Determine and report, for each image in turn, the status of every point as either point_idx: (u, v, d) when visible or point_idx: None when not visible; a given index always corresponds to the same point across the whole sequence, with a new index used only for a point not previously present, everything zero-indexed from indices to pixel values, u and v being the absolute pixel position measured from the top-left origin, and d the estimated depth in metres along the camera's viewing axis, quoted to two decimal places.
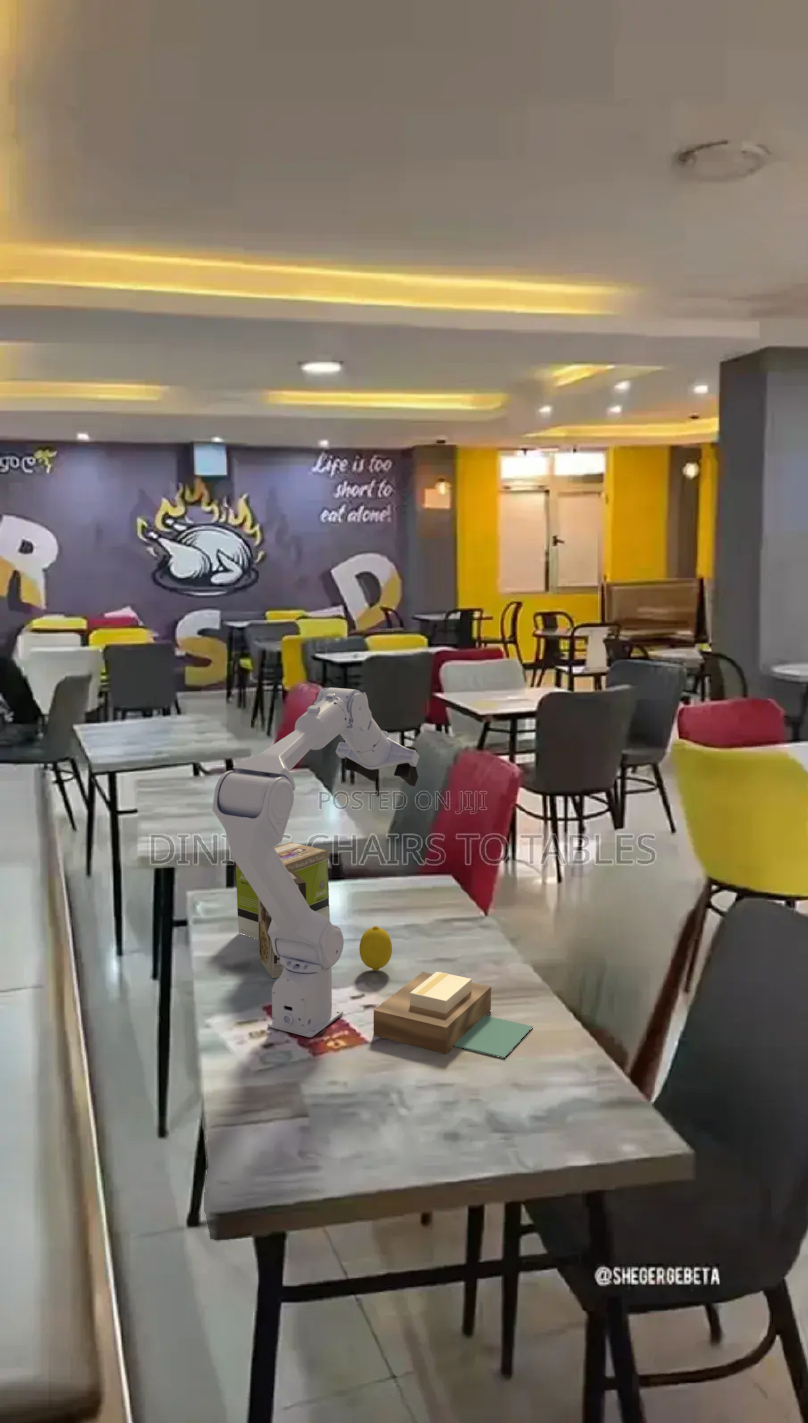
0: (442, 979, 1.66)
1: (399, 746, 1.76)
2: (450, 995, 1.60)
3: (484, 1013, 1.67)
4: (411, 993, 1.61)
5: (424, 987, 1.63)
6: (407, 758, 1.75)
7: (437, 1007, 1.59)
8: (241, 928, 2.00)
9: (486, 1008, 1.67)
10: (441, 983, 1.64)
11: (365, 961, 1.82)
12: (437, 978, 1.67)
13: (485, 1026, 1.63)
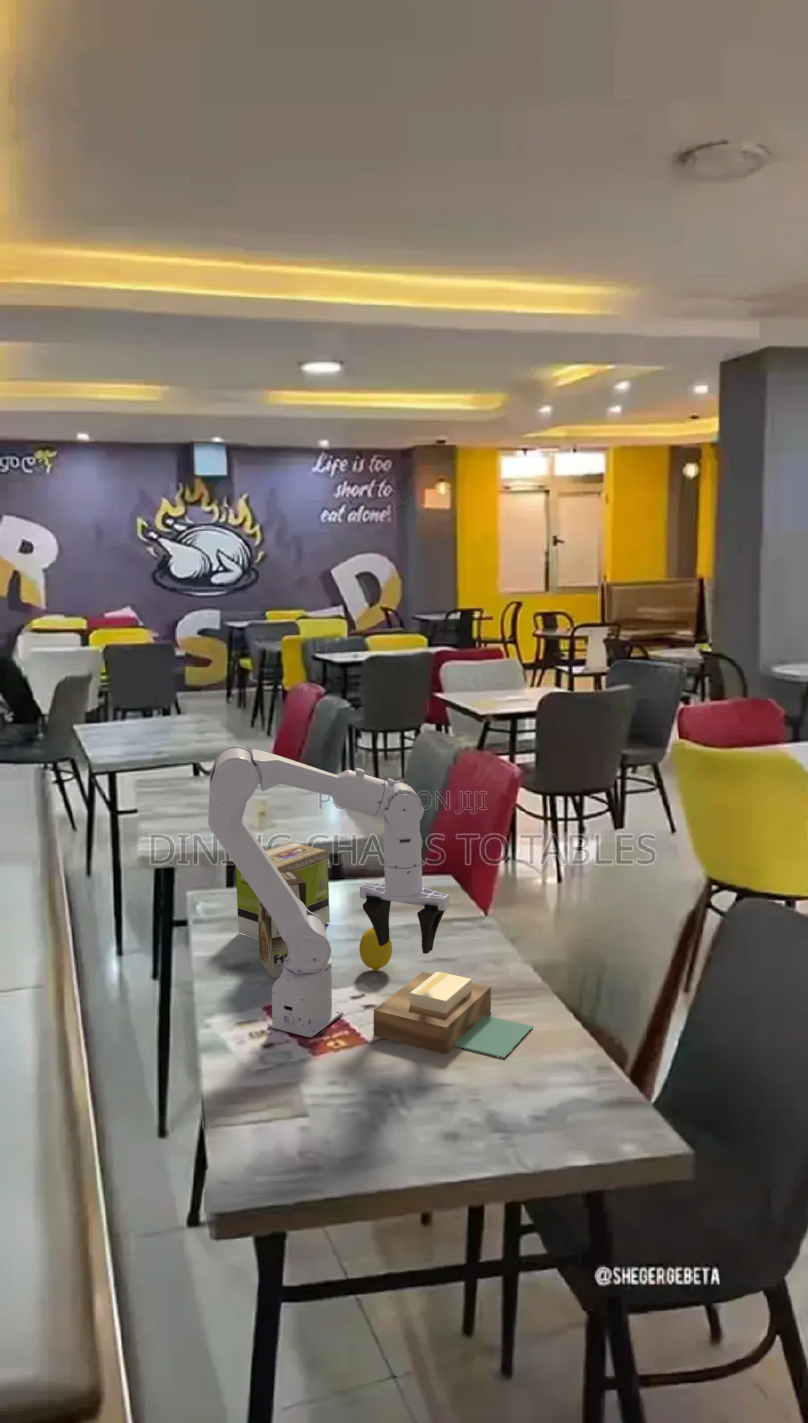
0: (442, 979, 1.66)
1: (431, 892, 1.64)
2: (450, 995, 1.60)
3: (484, 1013, 1.67)
4: (411, 993, 1.61)
5: (424, 987, 1.63)
6: None
7: (437, 1007, 1.59)
8: (241, 928, 2.00)
9: (486, 1008, 1.67)
10: (441, 983, 1.64)
11: (365, 961, 1.82)
12: (437, 978, 1.67)
13: (485, 1026, 1.63)
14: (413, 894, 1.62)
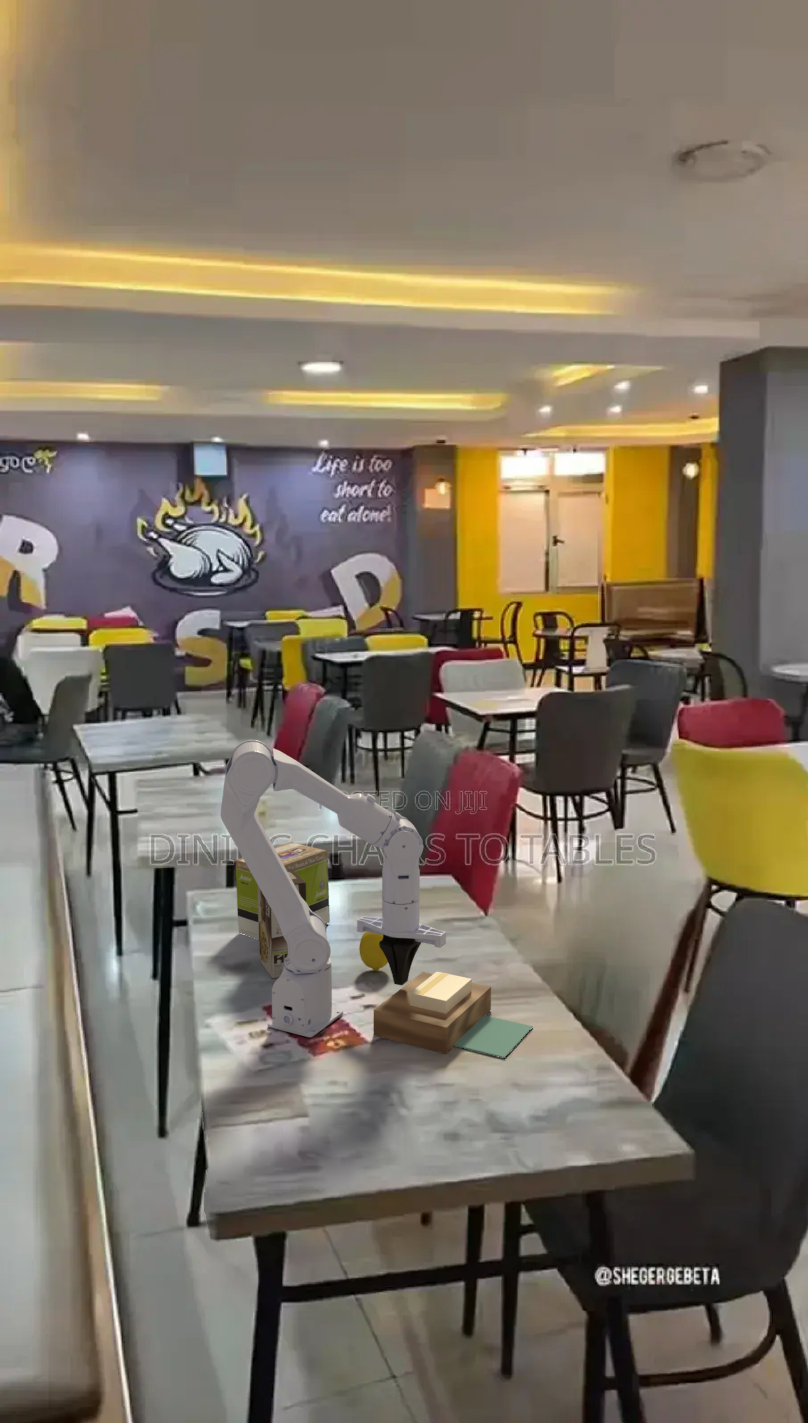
0: (442, 979, 1.66)
1: (428, 928, 1.65)
2: (450, 995, 1.60)
3: (484, 1013, 1.67)
4: (411, 993, 1.61)
5: (424, 987, 1.63)
6: None
7: (437, 1007, 1.59)
8: (241, 928, 2.00)
9: (486, 1008, 1.67)
10: (441, 983, 1.64)
11: (365, 961, 1.82)
12: (437, 978, 1.67)
13: (485, 1026, 1.63)
14: (410, 930, 1.63)
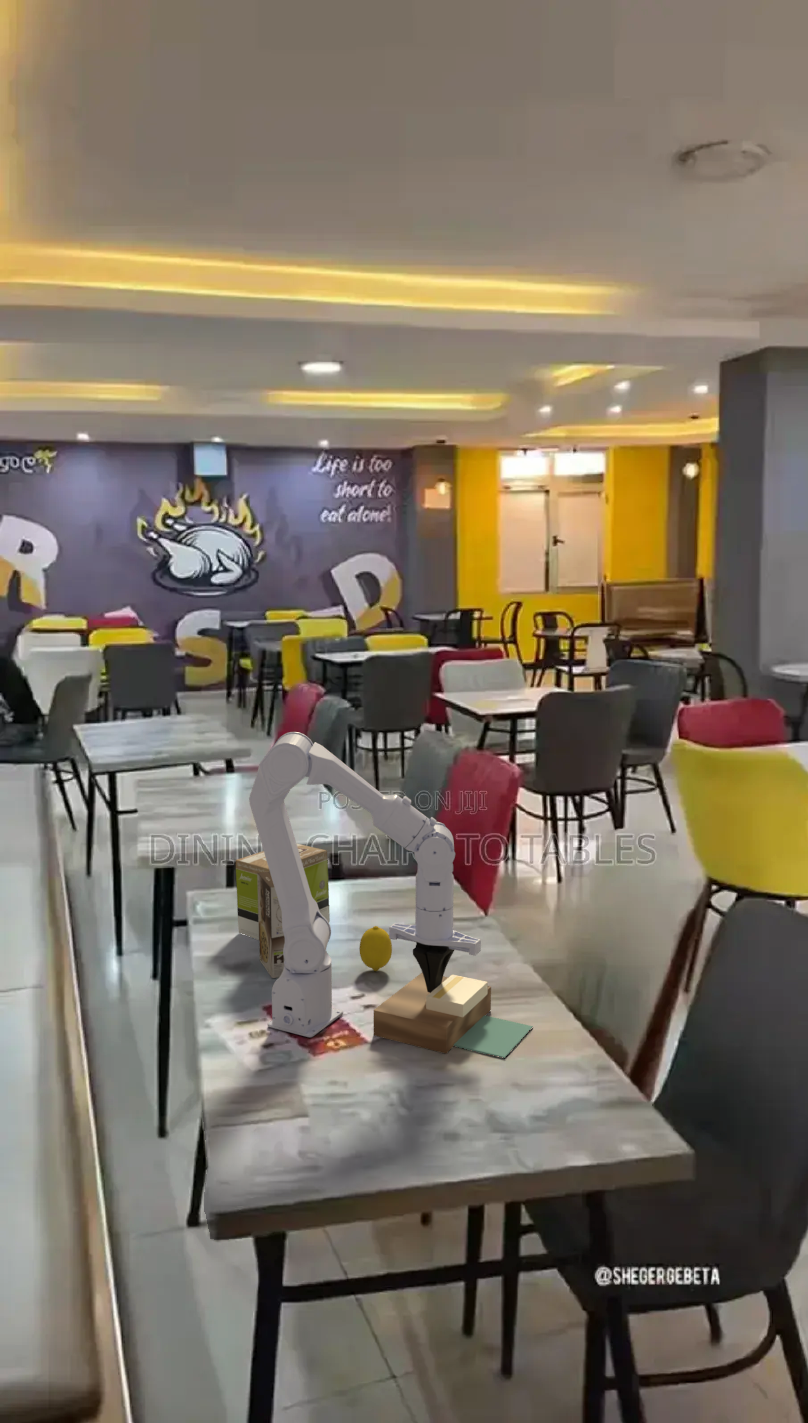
0: (458, 982, 1.65)
1: (462, 935, 1.62)
2: (466, 998, 1.59)
3: (484, 1013, 1.67)
4: (427, 997, 1.60)
5: (441, 991, 1.62)
6: None
7: (454, 1011, 1.58)
8: (241, 928, 2.00)
9: (486, 1008, 1.67)
10: (457, 986, 1.63)
11: (365, 961, 1.82)
12: (453, 981, 1.65)
13: (485, 1026, 1.63)
14: (444, 938, 1.60)
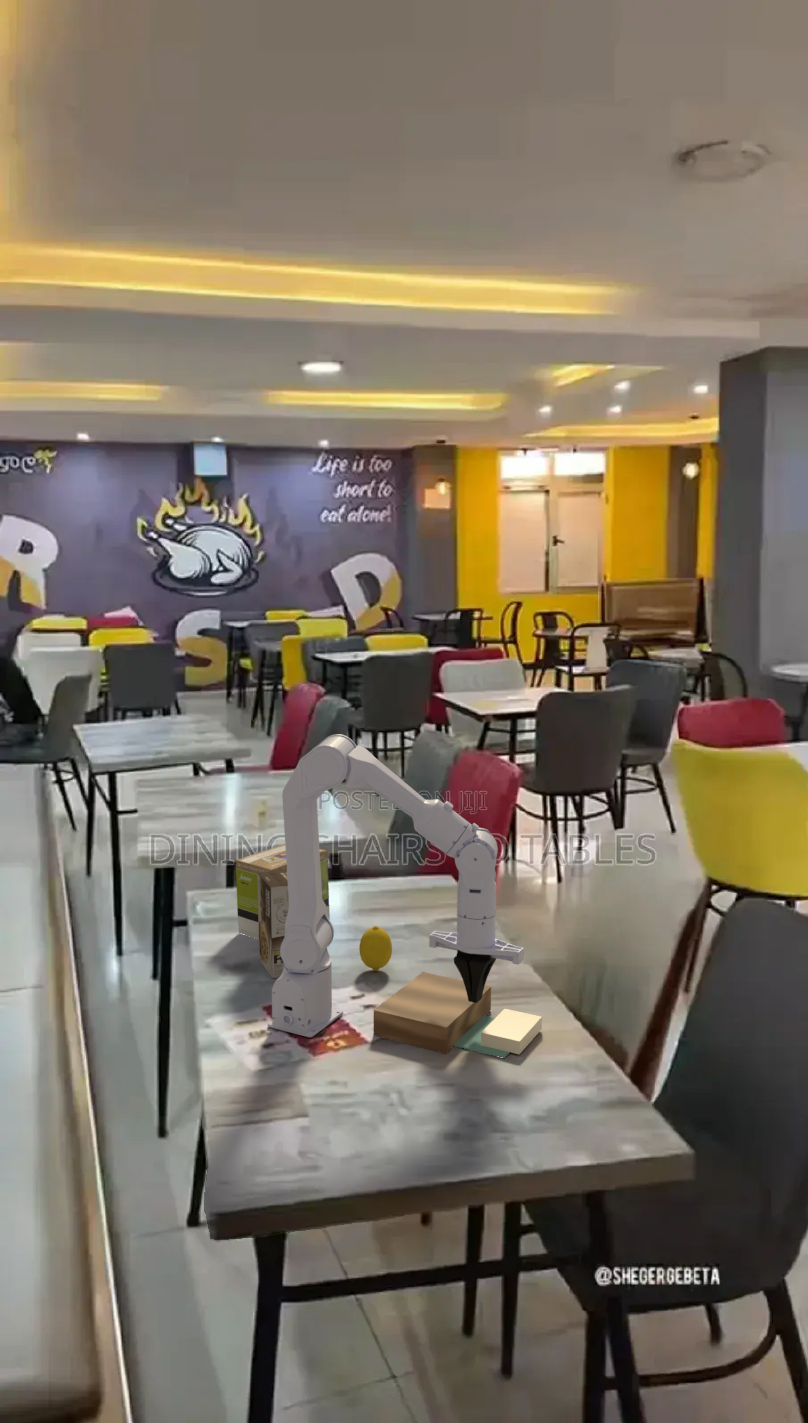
0: None
1: (504, 944, 1.59)
2: None
3: (484, 1013, 1.67)
4: (518, 1053, 1.54)
5: None
6: None
7: (489, 1038, 1.56)
8: (241, 928, 2.00)
9: (486, 1008, 1.67)
10: None
11: (365, 961, 1.82)
12: None
13: (485, 1026, 1.63)
14: (487, 946, 1.57)
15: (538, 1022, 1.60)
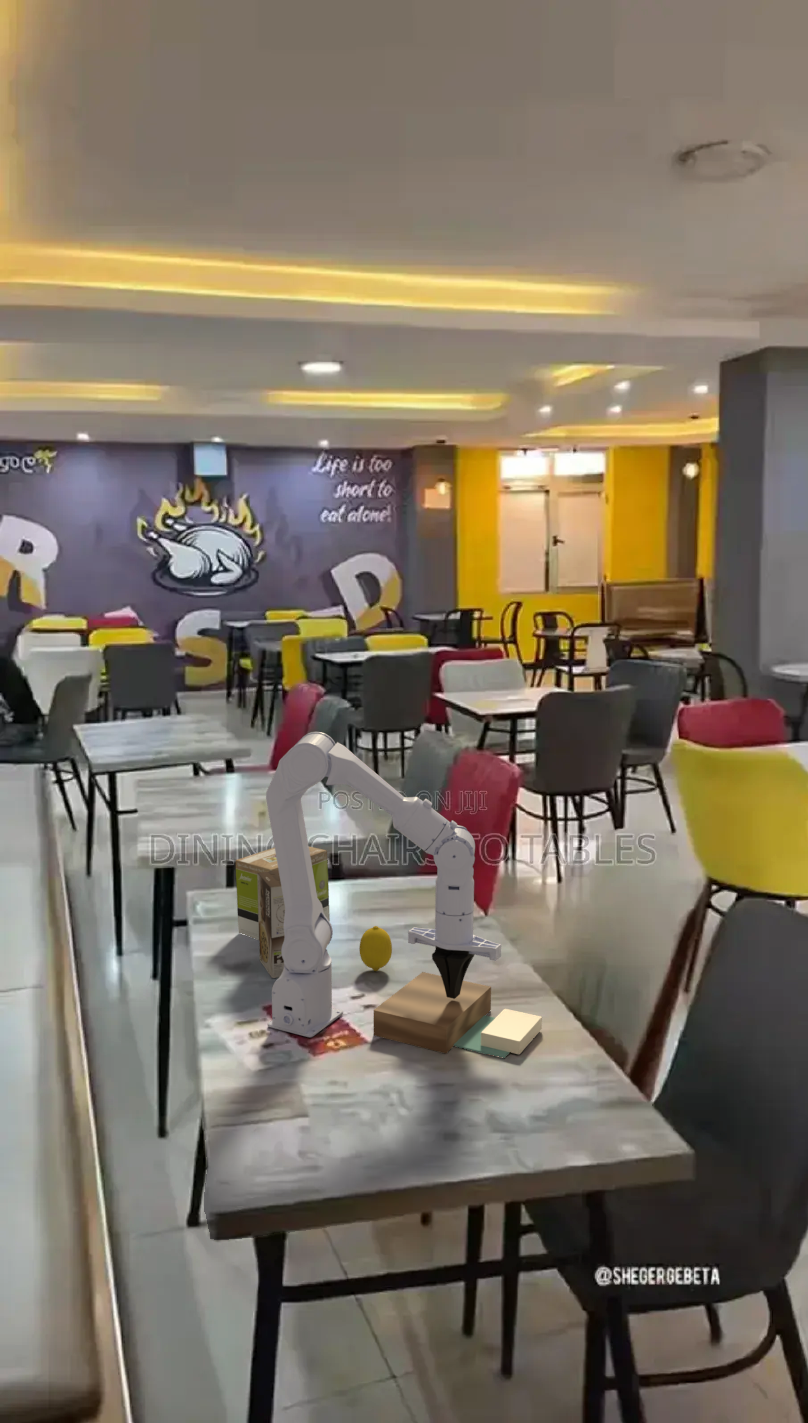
0: None
1: (482, 940, 1.61)
2: None
3: (484, 1013, 1.67)
4: (518, 1053, 1.54)
5: None
6: None
7: (489, 1038, 1.56)
8: (241, 928, 2.00)
9: (486, 1008, 1.67)
10: None
11: (365, 961, 1.82)
12: None
13: (485, 1026, 1.63)
14: (464, 942, 1.59)
15: (538, 1022, 1.60)
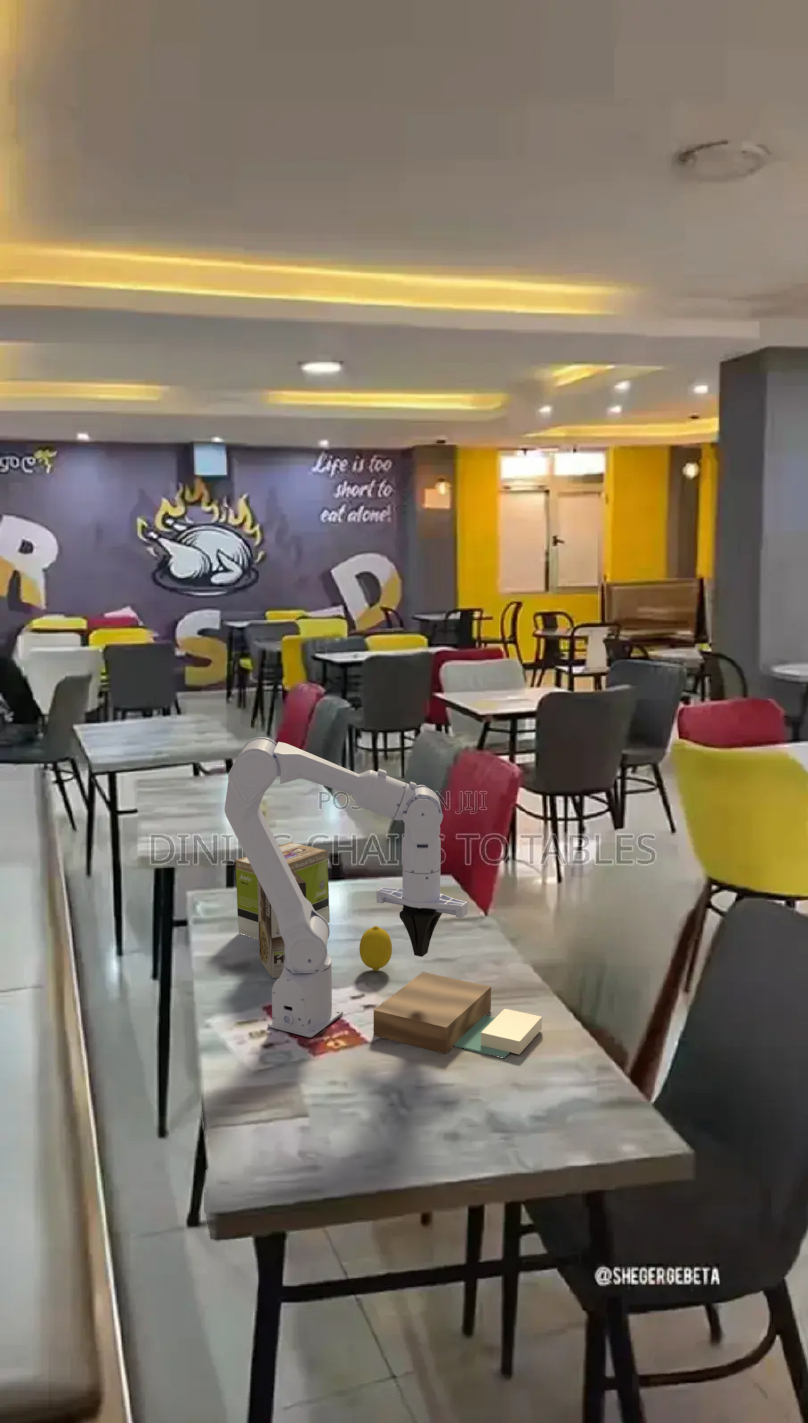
0: None
1: (449, 898, 1.62)
2: None
3: (484, 1013, 1.67)
4: (518, 1053, 1.54)
5: None
6: None
7: (489, 1038, 1.56)
8: (241, 928, 2.00)
9: (486, 1008, 1.67)
10: None
11: (365, 961, 1.82)
12: None
13: (485, 1026, 1.63)
14: (431, 900, 1.60)
15: (538, 1022, 1.60)
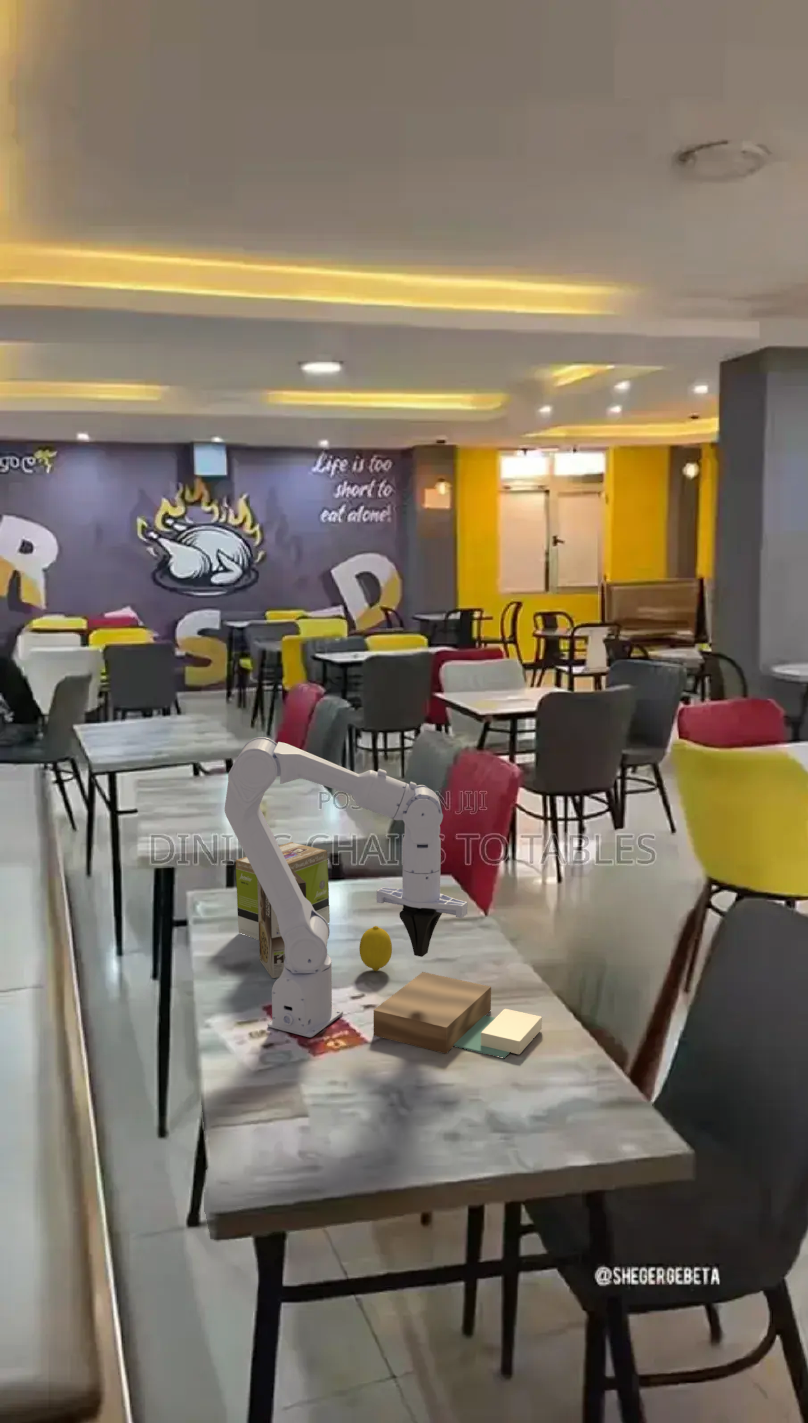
0: None
1: (449, 898, 1.62)
2: None
3: (484, 1013, 1.67)
4: (518, 1053, 1.54)
5: None
6: None
7: (489, 1038, 1.56)
8: (241, 928, 2.00)
9: (486, 1008, 1.67)
10: None
11: (365, 961, 1.82)
12: None
13: (485, 1026, 1.63)
14: (431, 900, 1.60)
15: (538, 1022, 1.60)
